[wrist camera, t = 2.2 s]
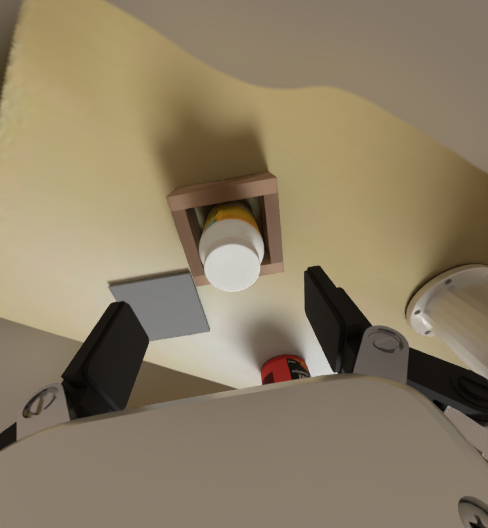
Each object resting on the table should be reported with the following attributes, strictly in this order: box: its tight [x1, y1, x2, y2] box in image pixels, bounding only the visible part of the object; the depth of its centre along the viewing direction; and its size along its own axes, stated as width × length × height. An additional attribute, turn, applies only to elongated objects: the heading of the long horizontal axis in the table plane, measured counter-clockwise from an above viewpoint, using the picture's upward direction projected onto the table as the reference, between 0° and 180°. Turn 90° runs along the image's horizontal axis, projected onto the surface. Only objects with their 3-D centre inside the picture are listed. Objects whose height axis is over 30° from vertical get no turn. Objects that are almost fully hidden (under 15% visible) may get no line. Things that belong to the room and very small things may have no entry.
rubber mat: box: [108, 272, 210, 341], centre depth 28 cm, size 10×10×1 cm
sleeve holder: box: [166, 172, 284, 286], centre depth 21 cm, size 9×9×4 cm
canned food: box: [261, 355, 311, 385], centre depth 32 cm, size 8×8×11 cm
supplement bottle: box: [199, 201, 264, 292], centre depth 19 cm, size 5×5×10 cm
